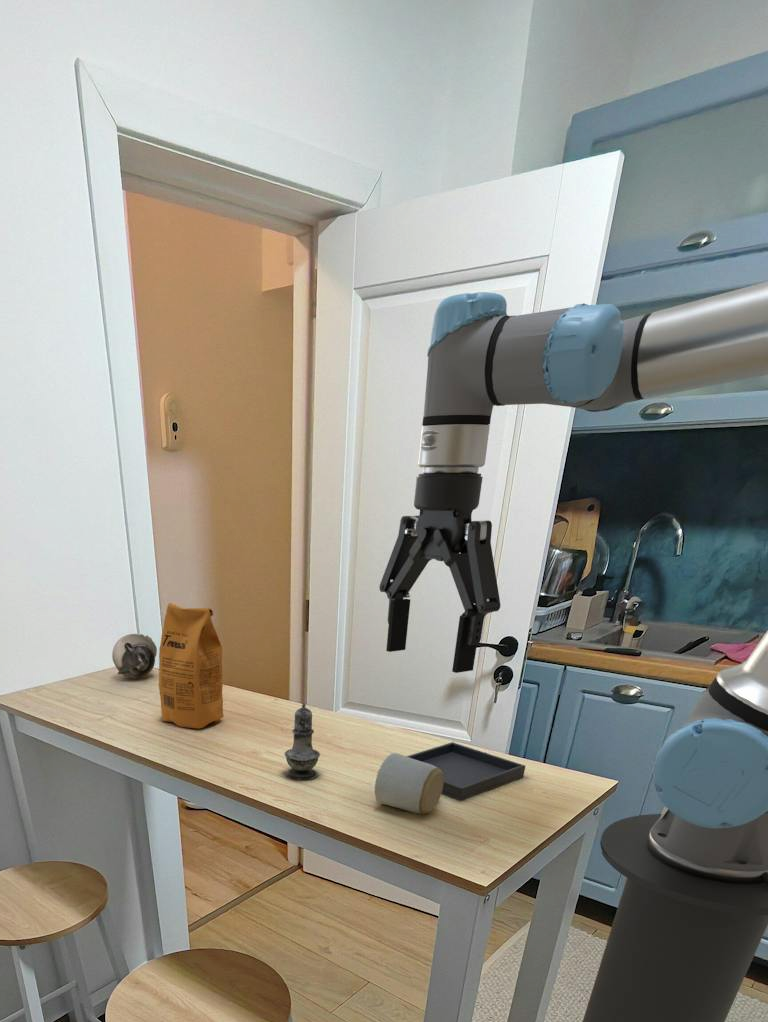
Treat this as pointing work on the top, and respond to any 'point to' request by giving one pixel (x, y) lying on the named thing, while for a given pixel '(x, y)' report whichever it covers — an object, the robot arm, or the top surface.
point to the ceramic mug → (408, 784)
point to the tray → (469, 769)
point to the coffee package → (190, 668)
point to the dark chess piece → (302, 748)
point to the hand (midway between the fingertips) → (427, 660)
